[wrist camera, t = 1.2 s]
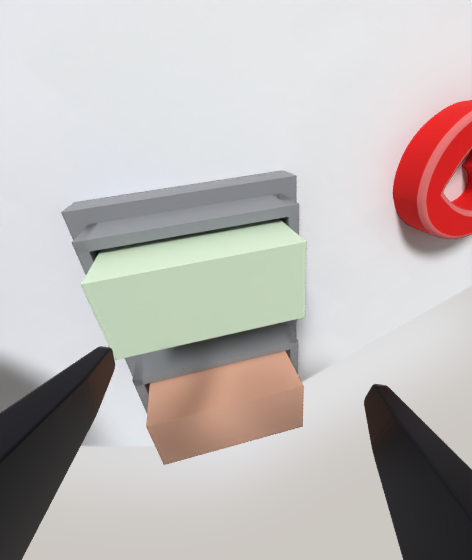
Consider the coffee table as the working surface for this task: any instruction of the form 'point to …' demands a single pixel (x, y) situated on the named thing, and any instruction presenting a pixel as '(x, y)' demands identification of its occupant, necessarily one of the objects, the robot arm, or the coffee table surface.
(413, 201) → the decorative ornament
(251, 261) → the sage button
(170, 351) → the button panel
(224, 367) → the orange brown block
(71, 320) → the coffee table surface
